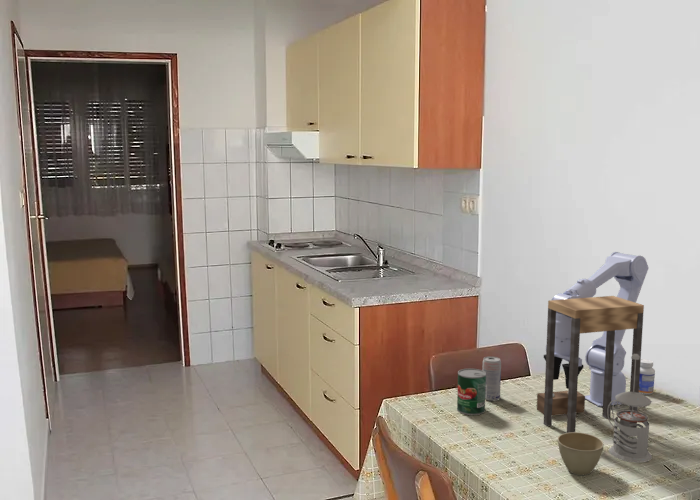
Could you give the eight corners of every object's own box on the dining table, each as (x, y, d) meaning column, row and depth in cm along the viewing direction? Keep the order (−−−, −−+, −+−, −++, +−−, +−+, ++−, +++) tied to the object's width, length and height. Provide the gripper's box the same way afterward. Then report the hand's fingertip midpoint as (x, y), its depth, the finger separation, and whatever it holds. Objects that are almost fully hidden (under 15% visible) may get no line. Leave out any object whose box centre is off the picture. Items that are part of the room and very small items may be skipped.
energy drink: (499, 395, 206) (500, 356, 205) (501, 401, 201) (502, 361, 199) (481, 394, 207) (481, 356, 205) (482, 400, 202) (483, 361, 200)
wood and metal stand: (606, 415, 190) (613, 295, 185) (636, 432, 178) (643, 305, 174) (543, 424, 184) (548, 300, 179) (569, 442, 173) (575, 310, 168)
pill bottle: (632, 388, 212) (634, 358, 210) (650, 389, 211) (652, 358, 209) (637, 394, 206) (638, 363, 205) (655, 395, 206) (657, 364, 204)
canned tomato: (454, 413, 192) (454, 375, 191) (460, 403, 200) (461, 367, 198) (482, 416, 189) (483, 378, 188) (487, 407, 197) (488, 370, 195)
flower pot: (549, 461, 162) (551, 432, 161) (590, 459, 163) (592, 431, 162) (566, 481, 152) (568, 451, 151) (610, 479, 153) (611, 449, 152)
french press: (632, 465, 160) (638, 362, 156) (593, 447, 170) (598, 349, 166) (661, 457, 164) (667, 356, 161) (621, 439, 174) (627, 344, 171)
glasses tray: (574, 406, 197) (575, 388, 197) (584, 413, 193) (585, 394, 192) (536, 410, 195) (537, 391, 194) (545, 416, 190) (546, 397, 189)
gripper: (537, 331, 196) (535, 376, 198) (566, 345, 183) (564, 393, 184) (558, 329, 198) (556, 374, 200) (589, 342, 184) (587, 391, 186)
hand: (562, 383), depth 192 cm, fingers open, 7 cm apart
